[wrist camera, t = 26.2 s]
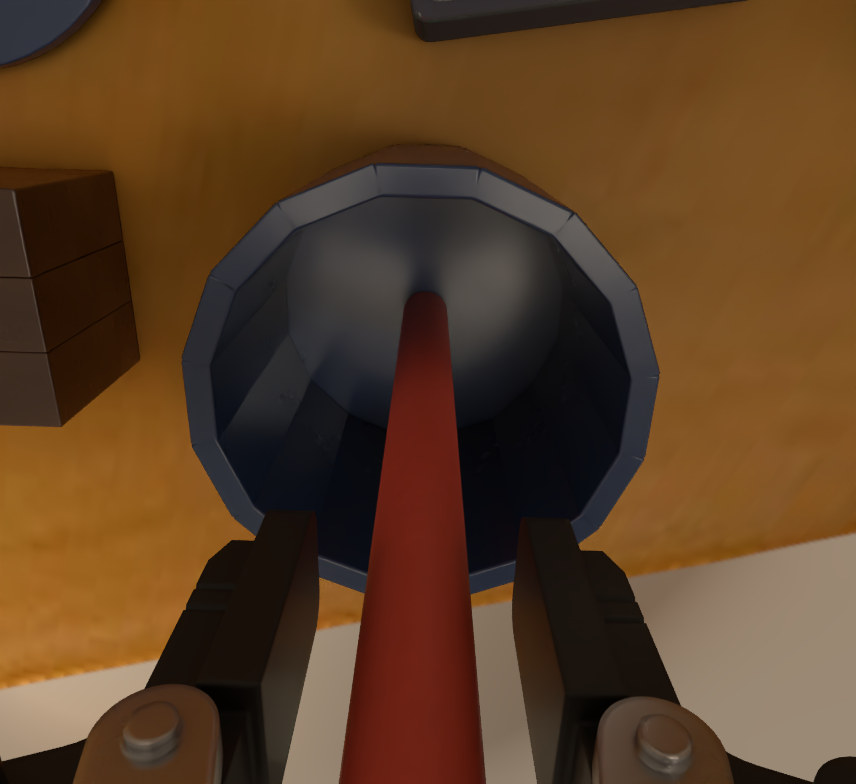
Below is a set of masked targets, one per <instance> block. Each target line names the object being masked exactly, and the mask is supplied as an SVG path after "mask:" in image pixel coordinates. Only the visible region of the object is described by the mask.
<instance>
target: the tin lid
mask: <svg viewBox="0 0 856 784" xmlns="http://www.w3.org/2000/svg"><path fill="white" fill-rule="evenodd" d="M101 1H102V0H0V68H5V67H10V66H15V65H18V64H21V63H23V62H26V61H29V60H31V59H34V58H37V57H39V56H41V55H42V54H44V53H46V52H48V51H49V50H51V49H53V48H55V47H57V46H58V45H60V44H61V43H62V42H63V41H65V40H66V39H67V38H68V37H70V36H71V35H72V34H73V33H74V32H76V31H77V30H78V29H79V28H80V27H81V26H82V25H83V24H84V22H85V21H86V20H87V19H88V18H89V17H90V16H91V15H92V13H93V12H94V11H95V10H96V9H97V7H98V5H99V4H100V2H101Z"/></svg>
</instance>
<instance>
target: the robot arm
mask: <svg viewBox="0 0 856 784" xmlns="http://www.w3.org/2000/svg"><path fill="white" fill-rule="evenodd" d="M318 611H319V564H318V538H317V519H316V513H315V511H307V510H272V509H269V510H268V511H267V512H266V514H265V516H264V519H263V521H262V523H261V526H260V528H259V531H258V533H257V536H256V538H255V540H254V541H245V540H231V541H230V542H229V543H228V544H227V545H226V546H224V547H223V548H222V549H221V550H220V551H219V552H217V553H216V554H215V555H214V556H213V557H212V558H210V559H209V560H208V562H207V564H206V566H205V568H204V570H203V572H202V574H201V576H200V578H199V580H198V582H197V584H196V589H194V590H193V592H192V594H191V596H190V598H189V600H188V602H187V604H186V610H183V612H182V614H181V616H180V618H179V620H178V622H177V624H176V626H175V628H174V630H173V632H172V634H171V636H170V638H169V640H168V642H167V644H166V646H165V648H164V650H163V652H162V654H161V657H160V659H159V661H158V663H157V665H156V667H155V669H154V671H153V673H152V675H151V677H150V679H149V681H148V683H147V685H146V687H145V689H143V690H140V691H138V692H136V693H134V694H131V695H129V696H128V697H126V698H124V699H122V700H121V701H119V702H118V703H116V704H115V705H114V706H112V707H111V708H110V709H109V710H108V711H107V712H106V713H104V714H103V716H101V718H100V719H99V720H98V721H97V723H96V724H95V725H94V727H93V728H92V730H91V732H90V733H89V735H88V737H87V738H86V739H84V740H81V741H79V742H77V743H73V744H70V745H67V746H63V747H59V748H55V749H51V750H47V751H43V752H39V753H35V754H31V755H27V756H22V757H18V758H14V759H11V760H6V761H1V758H0V784H282V780H283V776H284V771H285V766H286V762H287V758H288V753H289V749H290V744H291V740H292V735H293V731H294V726H295V722H296V717H297V713H298V708H299V704H300V699H301V695H302V690H303V686H304V681H305V677H306V672H307V668H308V663H309V659H310V654H311V650H312V645H313V641H314V636H315V632H316V627H317V620H318ZM512 621H513V634H514V641H515V647H516V652H517V659H518V666H519V672H520V678H521V684H522V691H523V697H524V703H525V709H526V716H527V722H528V729H529V735H530V740H531V747H532V754H533V760H534V766H535V772H536V779H537V784H856V757H850V756H849V757H839V758H836V759H833V760H830V761H828V762H826V763H825V764H823V765H822V767H821V768H820V769H819V770H818V772H817V774H816V776H815V779H814V782H810V781H807V780H803V779H800V778H797V777H793V776H790V775H787V774H784V773H780V772H777V771H774V770H770V769H767V768H764V767H760V766H757V765H755V764H752V763H749V762H746V761H744V760H741V759H739V758H737V757H735V756H733V755H731V754H729V753H728V752H726V751H725V749H724V747H723V745H722V743H721V741H720V739H719V738H718V737H717V735H716V734H715V733H714V731H713V730H712V729H711V728H710V727H709V726H708V725H707V724H706V723H705V722H704V721H703V720H701V719H700V718H699V717H698V716H696V715H695V714H693V713H692V712H690V711H689V710H687V709H685V708H683V707H681V705H680V703H679V700H678V698H677V695H676V693H675V691H674V688H673V686H672V684H671V681H670V679H669V676H668V674H667V672H666V669H665V667H664V665H663V662H662V660H661V658H660V655H659V653H658V650H657V648H656V646H655V643H654V641H653V639H652V636H651V634H650V632H649V629H648V627H647V625H646V623H644V617H643V615H642V613H641V610H640V608H639V605H638V603H637V602H635V596H634V594H633V591H632V589H631V587H630V584H629V582H628V579H627V577H626V575H625V572H624V571H623V570H622V569H620V568H619V567H618V566H617V565H616V564H615V563H614V562H613V561H612V560H611V559H610V558H609V557H608V556H607V555H606V554H605V553H604V552H603V551H581V550H580V548H579V545H578V542H577V540H576V537H575V534H574V531H573V528H572V525H571V522H570V520H569V519H568V518H536V517H522V519H521V522H520V527H519V536H518V547H517V557H516V567H515V577H514V587H513V599H512Z"/></svg>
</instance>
